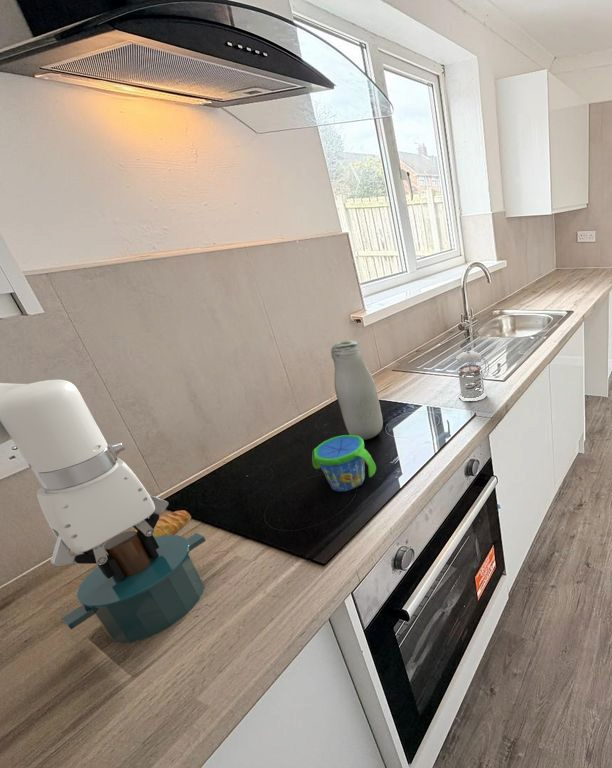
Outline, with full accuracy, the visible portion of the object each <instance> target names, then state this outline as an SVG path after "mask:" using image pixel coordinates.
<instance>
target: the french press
mask: <svg viewBox="0 0 612 768" xmlns="http://www.w3.org/2000/svg"><path fill="white" fill-rule="evenodd" d="M461 326H462V327H464V333H465V334H467V327H468V326H469V323H468V322H467V321H463V322H462V323H461ZM465 340H466V342H468V337H467V335H465ZM466 349H467V351H462V352H461V353H460V354H458V355H456V356H455V360H456V361H457V362H458V363H459V362H460V363H468V364H465V365H462V366H461V367H459V368H458V380H459V388H460V394H461V396H462V397H464V398H476V397H479V396H481V395H482V394H483V393H484V391H485V386H484V385H485V383H484V380H485V379H486V377H487V376H488V375H489V371H490V364H489V361H488V360H487V359H486V358H483V357H482V354H481V353H479V352H477V351H472V350H469V346H468V343H466ZM482 360H483V362H484V365H485V366H484V367H485V368H484V372H483V370H481V369H482V367H481V366H480V365H479V364H471V363H472V362H476V361H477V362H478V363H481V362H482ZM486 372H487V373H486ZM485 374H486V375H485ZM484 375H485V376H484ZM476 388H479V389H477V390H475V389H476ZM480 389H482V391H479V390H480ZM457 398H458V400H459V401H461V402H464V403H466V402H465V401H462V400H460V399H459V396H458V397H457Z"/></svg>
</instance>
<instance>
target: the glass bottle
mask: <svg viewBox="0 0 612 768" xmlns="http://www.w3.org/2000/svg"><path fill="white" fill-rule="evenodd" d="M362 351H363V350H362V349H361V347H360V344H359V342H357V341H355V340H342V341H339V342H336V343H335V344H333V345H332V347H331V350H330V353H331V354H330V356H331V358H332V360H333V366H334V392H335V395H336V398H337V402H338V406H339V408H340V412H341V416H342V419H343V422H344V425H345V428H346V430H347V433H348V435H356V436H359V437H361V438H362V439H363V441H366V440H370V439H373V438H374V437H376V436H377V435H379V434H380V433H381V431H382V430H383V427H384V426H383V425H384V420H383V414H382V410H381V404H380V400H379V395H378V391H377V390H378V389H377V386H376V383H375V380H374V377H373V375H372V373H371V372H370V370H369V369H368V367H367V365H366V362H365V361H364V358H363V355H362V354H363V353H362Z"/></svg>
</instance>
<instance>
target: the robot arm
mask: <svg viewBox="0 0 612 768" xmlns="http://www.w3.org/2000/svg"><path fill="white" fill-rule="evenodd" d="M9 441H13V443H14V445H15V446H16V447H17V450H18V451H19V453H20V454H21V455H22V457H23V459H24V460H25V462H26V464H27V465H28V467H29V468H30V469H31V471H32V473H33V474H34V475H35V477H36V479H37V480H38V482H39V483H40V485H41V486H42V487H40V488H39V489H38V490H37V491H36V497H37V501H38V504H39V507H40V509H41V512H42V514H43V516H44V518H45V520H46V522H47V524H48V526H49V528H50V529H51V531H52V533H53V535H54V536H55V538H56V541H55V544H54V548H53V552H52V555H51V559H50V563H51V565H53V566H54V567H64V566H70V565H74V564H80V565H81V564H87V565H88V564H89V565H90V564H92V565H93V564H94V565H95V564H96V565H97V566H99V568H100V569H101V571H102V572H103V574H104V575H105V576H106V577H107V578H108V579H109V578H111V577H114V578H116V579H117V580H119V581H121V580H123V579H124V577H125V576H124V574H123V572H122V571H121V569H120V567H119V566H118V564H117V563H116V561H115V559H114V558H112V557H110V556H109V555H108V553H107V552H106V550H105V547H104V545H105V543H107V542H108V541H109V540H110V539H111V538H113V537H115V536H116V535H119V534H121V533H124V532H126V531H127V530H129V529H131V528H134V530H137V534H138V536H139V538H140V539H141V541H142V543H143V545H144V547H145V548H146V550H147V552H148V554H149V556H150V557H151V558H153V559H154V558H155V559H156V558H157V557H159V555H158V553H157V551H156V549H158V548H159V546H158V544H157V542H156V540H155V538H154V536H153V534H154V527H155V526H156V524H157V522H158V520H159V517H160V516H162V514H163V513H164V512H165V510H167V508H168V506H169V505H170V504H169V501H167V500H165V499H162V498H159V497H157V496H154V495H151V494H149V492H148V490H147V489H146V488H145V486H144V484H143V483H142V482H141V480H139V478H138V476H137V475H136V473H134V471H133V470H132V469H131V468H130V466H128V464H127V463H126V462H125V461H124V460H123V459H121V458H119V457H118V454H120V453H121V452H123V451H125V449H126V448H125V446H124V445H123V444H122V442H115V443H111V444H109V443H107V441H106V439H105V437H104V435H103V433H102V431H101V430H100V427H99V426H98V423H97V422H96V420H95V418H94V416H93V414H92V413H91V411H90V409H89V407H88V406H87V404H86V402H85V400H84V398H83V396H82V393H81V392H80V390H79V389H78V388H77V387H76V385H75V384H74V383H73V382H71V381H68V380H65V379H46V380H40V381H35V382H30V383H12V382H11V383H10V382H0V445H3V444H5V443H7V442H9Z"/></svg>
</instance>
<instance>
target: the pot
mask: <svg viewBox="0 0 612 768" xmlns="http://www.w3.org/2000/svg"><path fill="white" fill-rule="evenodd" d="M186 539H187V540H188V542H189V544H190V551H189V554H188V556H187V558H186V560H185V561H184V562H183V564H182V565H181V566H180V567H179V568H178V569H177V570H176V571H175V572H174V573H173V574H172V575H170V576H169V577H168V578H167V579H165V580H164V581H163V582H161V583H160V584H158V585H157V586H155V587H154V588H152V589H150V590H148V591H147V592H145V593H143V594H141V595H139V596H137V597H135V598H132V599H130V600H127V601H125V602H122V603H119V604H116V605H112V606H108V607H101V608H91V607H86V606H84V605H82V604H81V605H80V606H78V607H77V608H75V609H74V610H72V611H71V612H68V613H66V615H64V616H62V617H61V618H60V620H61V621H62V623H63V624H64V625H65V626H66V627H68V629H70V630H73V629H74V628H76V627H77V626H79V625H81V624H82V623H84V622H85V621H86V620H88V619H90V618H91V617H92V616H93V617H94V618H95V620H96V622H97V623H98V624H99V626H100V628H101V629H102V630H103V631H104V633H105V635H106V636H107V637H108V638H109V639H110V640H111V641H113V643H116V644H117V643H119V644H122V643H123V644H132V643H135V642H138V641H141V640H145V639H148V638H151V637H154V636H155V635H157V634H159V633H161V632H163V631H164V630H167V629H168V628H170V627H172V626H173V625H174V624H176V623H177V622H178V621H179V620H181V619H182V618H183V617H185V616H186V615H187V614H188V613H189V612H190V611H191V610H192V609H193V608H194V607H195V606H196V604H197V603H198V602H199V601H200V599H201V597H202V595H203V593H204V591H205V587H206V585H205V582H204V577H203V575H202V574H201V571H200V570H199V568H198V566H197V564H196V561H195V560H194V558H193V555H192V553H191V551H193V550H194V549H196V548H197V547H199V546H200V545H202V544H203V543H205V542H206V541H207V540H206V538H205V536H203V535H202V534H200V533H197V532H195V533H193V534H192V535H190V536H189V537H187V538H186Z"/></svg>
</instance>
